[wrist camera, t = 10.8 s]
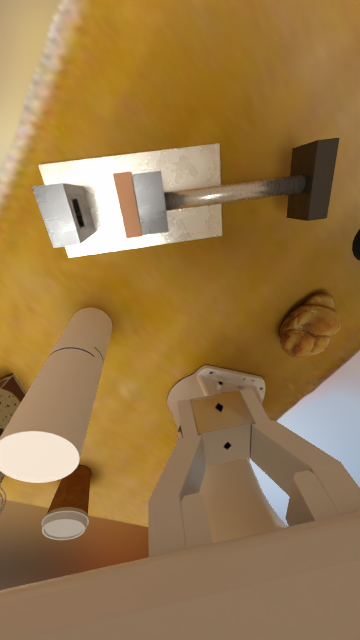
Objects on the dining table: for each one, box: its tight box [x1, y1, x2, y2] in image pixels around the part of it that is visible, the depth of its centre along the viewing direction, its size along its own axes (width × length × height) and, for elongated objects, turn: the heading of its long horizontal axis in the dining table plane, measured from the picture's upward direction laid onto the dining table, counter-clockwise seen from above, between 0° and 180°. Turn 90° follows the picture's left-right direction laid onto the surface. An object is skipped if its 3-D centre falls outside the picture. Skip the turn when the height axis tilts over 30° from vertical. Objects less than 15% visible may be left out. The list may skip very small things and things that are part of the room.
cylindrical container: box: [0, 307, 112, 483], centre depth 32 cm, size 7×7×25 cm
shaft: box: [164, 138, 339, 221], centre depth 29 cm, size 21×8×5 cm, turn 96°
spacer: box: [113, 171, 143, 239], centre depth 32 cm, size 2×7×7 cm, turn 6°
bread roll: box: [280, 293, 341, 357], centre depth 45 cm, size 13×10×8 cm
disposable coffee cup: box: [42, 465, 91, 540], centre depth 56 cm, size 10×10×12 cm
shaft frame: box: [32, 143, 222, 257], centre depth 31 cm, size 24×12×11 cm, turn 96°
